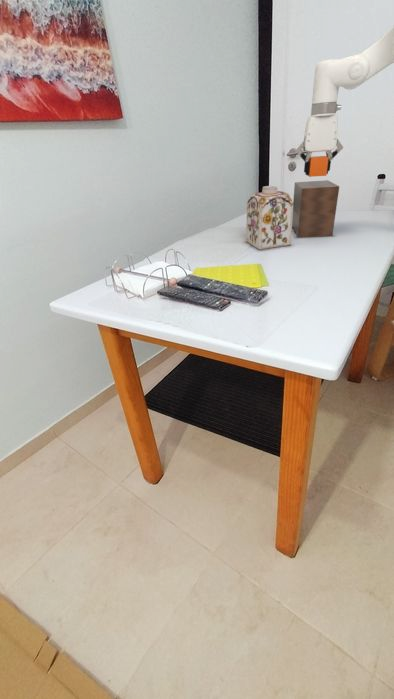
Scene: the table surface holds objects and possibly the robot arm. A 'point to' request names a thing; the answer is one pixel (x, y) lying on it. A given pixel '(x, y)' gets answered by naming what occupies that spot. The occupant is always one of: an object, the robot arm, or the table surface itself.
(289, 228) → the decorative jar
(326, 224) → the wooden grain block
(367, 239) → the table surface
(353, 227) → the table surface
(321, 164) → the cube
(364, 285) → the table surface
